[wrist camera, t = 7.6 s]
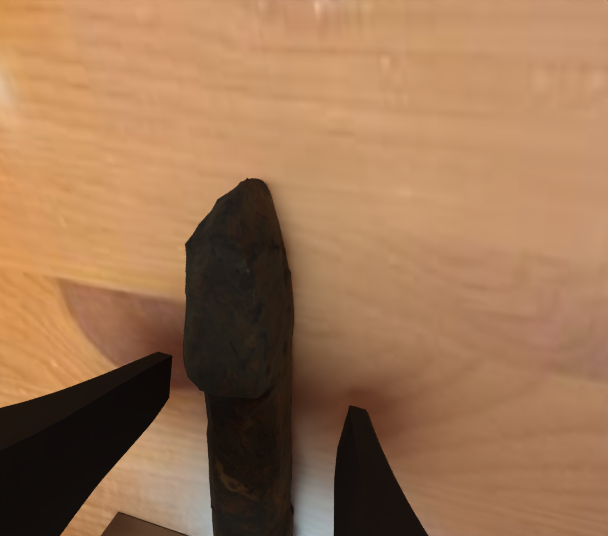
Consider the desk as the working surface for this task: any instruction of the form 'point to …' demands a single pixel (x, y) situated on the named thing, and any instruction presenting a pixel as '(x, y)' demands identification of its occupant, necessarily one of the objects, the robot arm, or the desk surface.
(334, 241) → the desk surface
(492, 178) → the desk surface
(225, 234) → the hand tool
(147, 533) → the grey brown flat box
